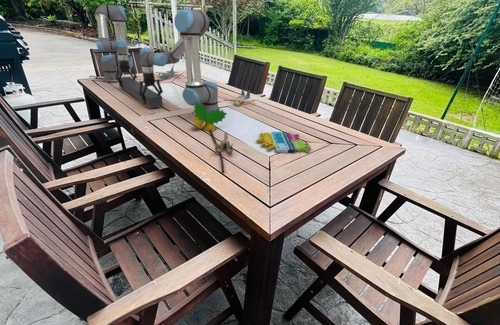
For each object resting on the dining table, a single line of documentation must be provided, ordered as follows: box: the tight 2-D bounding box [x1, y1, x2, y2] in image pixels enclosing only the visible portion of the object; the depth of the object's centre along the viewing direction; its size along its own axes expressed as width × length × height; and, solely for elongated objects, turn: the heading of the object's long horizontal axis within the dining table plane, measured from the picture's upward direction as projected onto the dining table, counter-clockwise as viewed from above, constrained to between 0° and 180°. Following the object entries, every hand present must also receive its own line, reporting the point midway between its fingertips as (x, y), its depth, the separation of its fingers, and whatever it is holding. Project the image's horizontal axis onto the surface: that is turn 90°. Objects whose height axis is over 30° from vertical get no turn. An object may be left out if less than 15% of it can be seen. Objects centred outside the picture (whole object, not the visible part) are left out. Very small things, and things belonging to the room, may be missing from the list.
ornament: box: [191, 102, 228, 132], centre depth 162 cm, size 21×8×15 cm, turn 105°
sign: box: [256, 131, 312, 154], centre depth 152 cm, size 26×2×30 cm
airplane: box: [154, 64, 181, 82], centre depth 278 cm, size 38×31×10 cm
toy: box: [223, 89, 257, 106], centre depth 219 cm, size 28×7×30 cm
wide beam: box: [118, 76, 164, 109], centre depth 211 cm, size 70×10×7 cm, turn 39°
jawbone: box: [214, 131, 234, 156], centre depth 136 cm, size 9×15×10 cm
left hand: (127, 86), depth 230 cm, fingers closed on wide beam, 10 cm apart
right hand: (152, 103), depth 194 cm, fingers closed on wide beam, 10 cm apart
